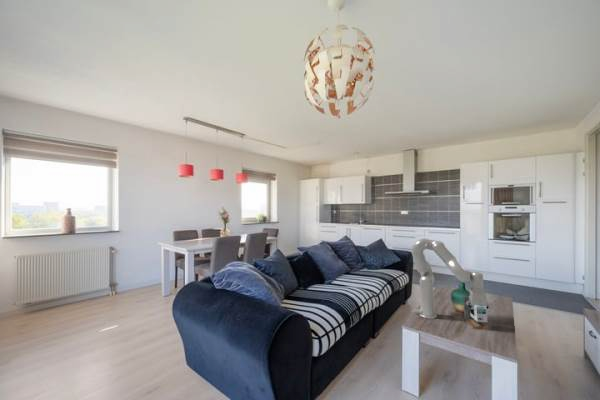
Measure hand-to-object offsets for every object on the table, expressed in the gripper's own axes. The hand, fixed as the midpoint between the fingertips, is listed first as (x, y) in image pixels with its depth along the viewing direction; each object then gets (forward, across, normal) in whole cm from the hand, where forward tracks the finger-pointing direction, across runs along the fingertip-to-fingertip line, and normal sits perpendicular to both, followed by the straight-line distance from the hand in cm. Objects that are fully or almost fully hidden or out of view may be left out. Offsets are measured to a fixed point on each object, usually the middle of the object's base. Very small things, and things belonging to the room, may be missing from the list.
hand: (478, 314), depth 181 cm
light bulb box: (+4, 0, 0) cm, 4 cm away
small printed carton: (+8, 0, 0) cm, 8 cm away
